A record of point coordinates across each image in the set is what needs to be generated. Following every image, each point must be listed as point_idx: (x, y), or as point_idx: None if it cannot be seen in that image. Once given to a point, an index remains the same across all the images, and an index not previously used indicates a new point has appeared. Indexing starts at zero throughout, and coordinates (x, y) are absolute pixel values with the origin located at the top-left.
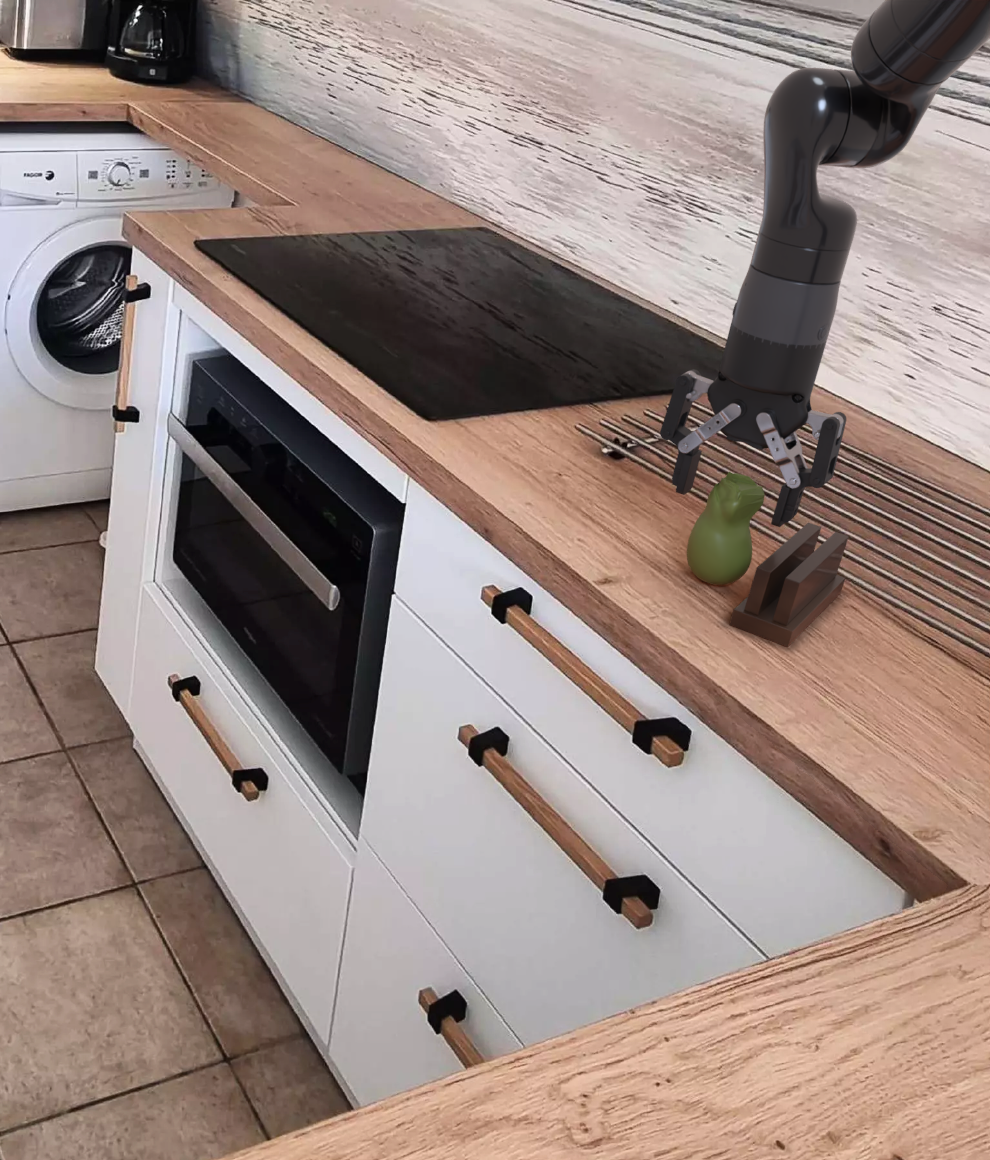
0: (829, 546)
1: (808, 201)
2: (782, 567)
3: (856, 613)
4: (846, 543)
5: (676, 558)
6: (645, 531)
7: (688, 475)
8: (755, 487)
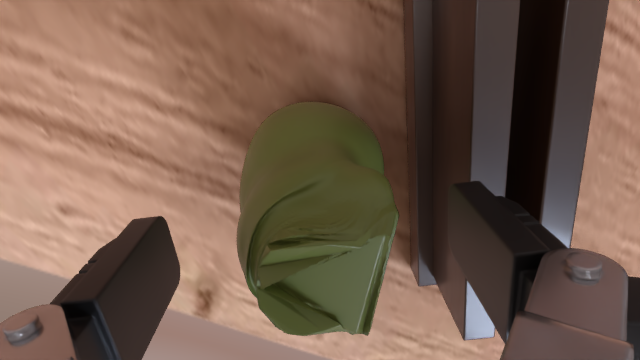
0: (578, 87)
1: None
2: None
3: None
4: None
5: (214, 117)
6: (87, 50)
7: (157, 314)
8: (376, 265)
